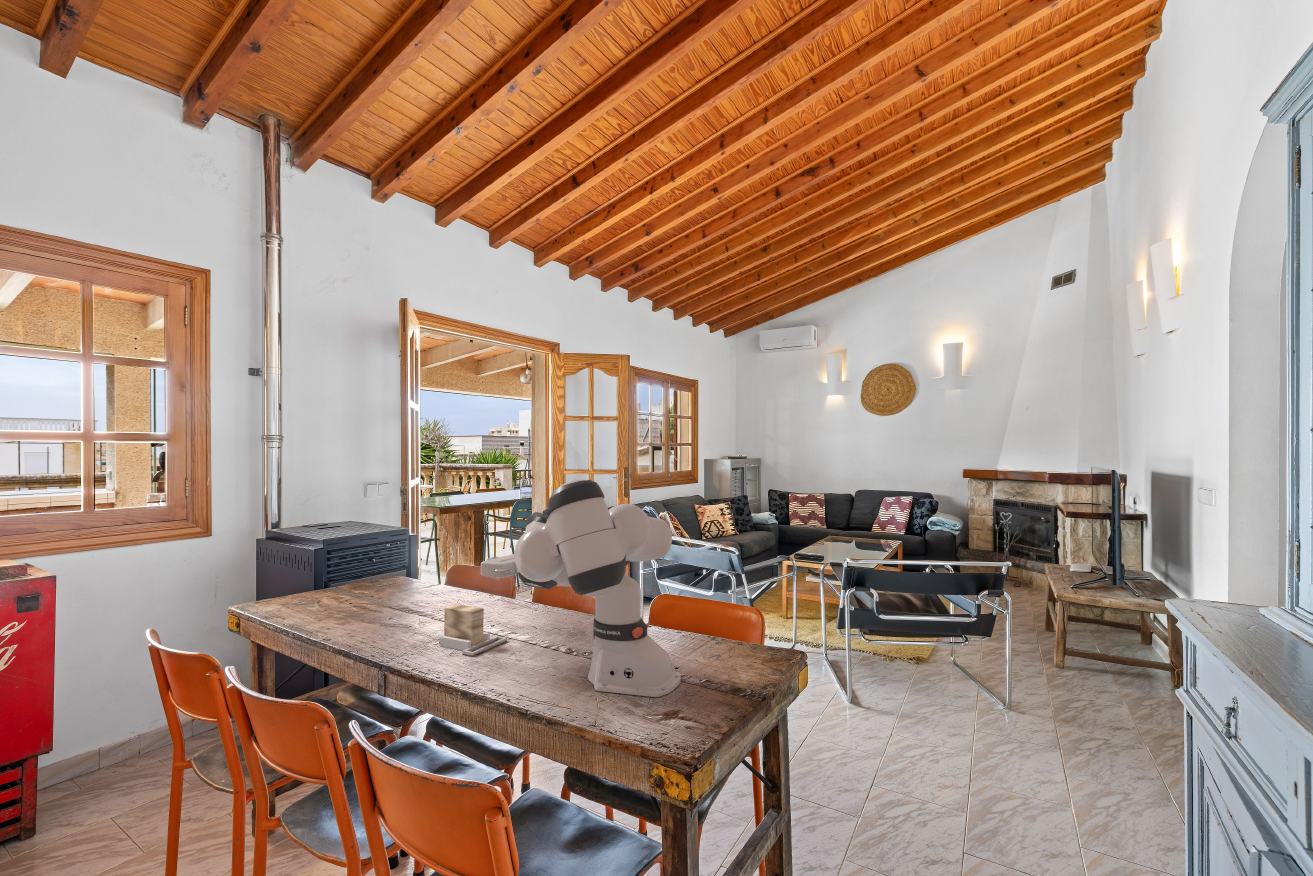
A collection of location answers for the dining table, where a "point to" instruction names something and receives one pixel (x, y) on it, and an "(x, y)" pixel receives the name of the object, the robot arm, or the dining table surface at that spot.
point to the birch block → (464, 623)
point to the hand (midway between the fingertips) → (490, 560)
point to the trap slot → (484, 646)
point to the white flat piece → (459, 642)
